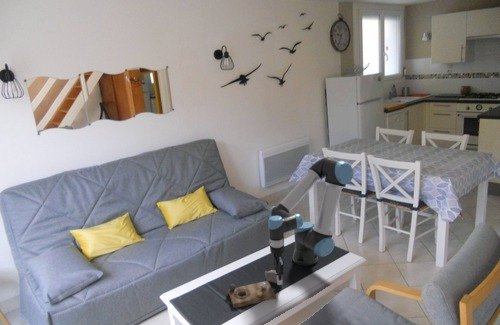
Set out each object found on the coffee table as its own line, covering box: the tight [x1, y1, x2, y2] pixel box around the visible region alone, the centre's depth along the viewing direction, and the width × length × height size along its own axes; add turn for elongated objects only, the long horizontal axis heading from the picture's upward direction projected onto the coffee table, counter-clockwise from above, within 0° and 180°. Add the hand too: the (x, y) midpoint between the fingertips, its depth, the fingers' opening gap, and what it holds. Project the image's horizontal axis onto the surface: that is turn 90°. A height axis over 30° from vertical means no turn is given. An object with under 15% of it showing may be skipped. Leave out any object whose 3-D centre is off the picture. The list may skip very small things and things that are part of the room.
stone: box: [264, 269, 277, 284], centre depth 211 cm, size 10×8×6 cm
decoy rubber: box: [228, 283, 237, 291], centre depth 201 cm, size 4×4×4 cm
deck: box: [228, 280, 276, 309], centre depth 199 cm, size 22×13×2 cm, turn 104°
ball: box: [261, 283, 267, 290], centre depth 200 cm, size 4×4×4 cm
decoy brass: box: [256, 290, 263, 297], centre depth 194 cm, size 4×4×4 cm
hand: (279, 283), depth 206 cm, fingers closed
